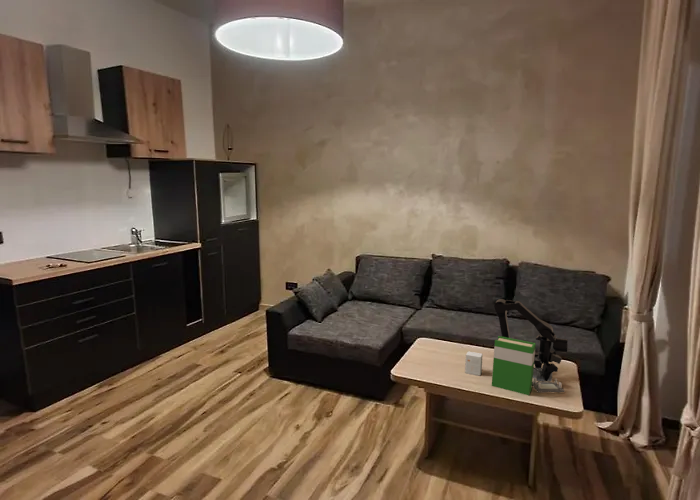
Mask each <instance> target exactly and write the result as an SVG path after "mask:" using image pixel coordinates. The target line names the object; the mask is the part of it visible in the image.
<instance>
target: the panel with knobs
mask: <svg viewBox="0 0 700 500" xmlns="http://www.w3.org/2000/svg"><path fill="white" fill-rule="evenodd" d="M562 384H563V383H562V382H560V381H559V382H558V378H556V377H555V378H554V382H553V381H537V378H533V381H532V388H533V389H535V391H536V392H537V393H544V392H566V391H565V389H563V387H562V386H563V385H562Z"/></svg>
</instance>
